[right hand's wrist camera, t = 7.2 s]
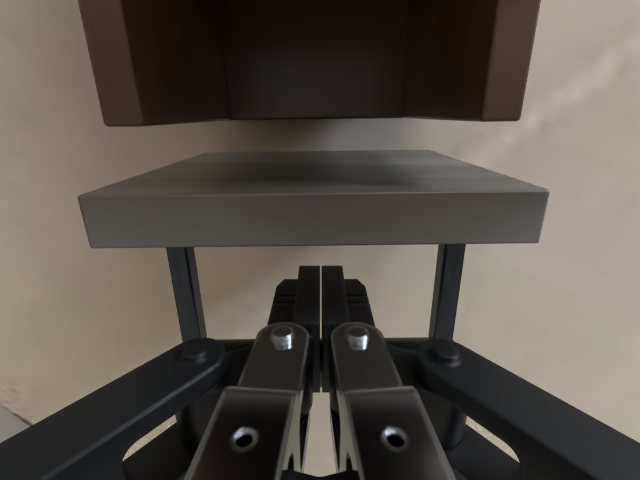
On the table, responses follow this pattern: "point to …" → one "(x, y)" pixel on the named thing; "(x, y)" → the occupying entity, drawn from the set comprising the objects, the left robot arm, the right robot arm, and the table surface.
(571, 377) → the table surface
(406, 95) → the drawer
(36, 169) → the table surface
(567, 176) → the table surface
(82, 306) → the table surface
